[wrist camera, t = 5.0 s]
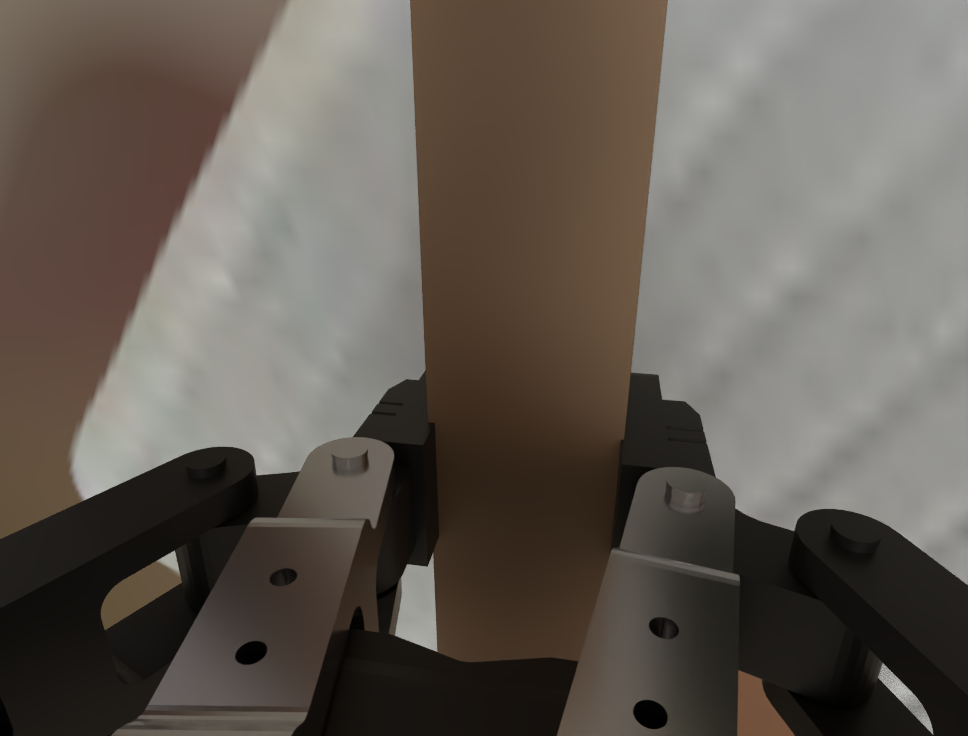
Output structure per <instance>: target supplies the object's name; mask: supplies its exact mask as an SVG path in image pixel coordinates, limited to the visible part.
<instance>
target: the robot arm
mask: <svg viewBox="0 0 968 736" xmlns="http://www.w3.org/2000/svg"><path fill="white" fill-rule="evenodd" d="M438 538H439V518H438V491H437V464H436V437H435V423H430V422H428V412H427V388H426V370H425V372H424V373H423V375H422V376H421V378H420V379H419V380H408V379H406V380H405V381H403V382H401V383H399V384H397V385H395V386H394V387H392V388H390V389H388V391H387V392H386V393H385V395H384V396H383V397H382V399H381V400H380V401H379V404H377V405H376V407H375V408H374V409H373V411H372V414H370V415H369V416H368V417H367V419H366V420H365V421H364V423H363V424H362V425H361V427H360V428H359V429H358V431H357V432H356V433H355V435H354V436H353V437H350V438H343V439H338V440H334V441H330V442H328V443H325V444H323V445H321V446H319V447H317V448H316V449H315V450H313V451H312V452H311V453H310V454H309V455H308V457H307V459H306V461H305V463H304V465H303V467H302V469H301V471H299V472H292V473H281V474H269V475H257V476H256V469H255V463H254V458H253V456H252V455H251V454H250V453H248V452H247V451H245V450H242V449H239V448H234V447H211V448H205V449H201V450H196V451H193V452H190V453H187V454H185V455H182V456H180V457H178V458H176V459H173V460H171V461H169V462H167V463H165V464H163V465H160V466H158V467H156V468H154V469H152V470H150V471H147V472H145V473H143V474H141V475H139V476H137V477H134V478H132V479H130V480H128V481H126V482H124V483H121V484H119V485H117V486H115V487H113V488H110V489H108V490H106V491H104V492H102V493H100V494H97V495H95V496H93V497H91V498H89V499H87V500H84V501H82V502H80V503H78V504H76V505H74V506H71V507H69V508H67V509H65V510H63V511H61V512H58V513H56V514H54V515H52V516H50V517H48V518H45V519H43V520H41V521H39V522H37V523H35V524H32V525H30V526H28V527H26V528H24V529H22V530H19V531H17V532H15V533H13V534H11V535H9V536H6V537H4V538H2V539H0V736H737V726H738V670H739V671H742V672H744V673H747V674H750V675H752V676H755V677H757V678H760V679H762V686H763V690H764V692H765V695H766V697H767V698H768V700H769V702H770V703H771V705H772V706H773V707H774V709H775V710H776V711H777V713H778V714H779V715H780V717H781V718H782V719H783V720H784V722H785V723H786V724H787V726H788V727H789V728H790V730H791V731H792V732H793V734H794V735H795V736H968V585H967V584H965V583H964V582H963V581H961V580H960V579H959V578H957V577H956V576H955V575H953V574H952V573H951V572H949V571H948V570H947V569H945V568H944V567H943V566H941V565H940V564H939V563H938V562H936V561H935V560H934V559H932V558H931V557H930V556H928V555H927V554H926V553H924V552H923V551H922V550H920V549H919V548H918V547H916V546H915V545H914V544H912V543H911V542H910V541H908V540H907V539H906V538H904V537H903V536H902V535H901V534H899V533H898V532H896V531H895V530H893V529H892V528H891V527H889V526H887V525H885V524H883V523H882V522H880V521H877V520H875V519H873V518H870V517H867V516H865V515H862V514H858V513H854V512H850V511H845V510H837V509H820V510H814V511H810V512H808V513H805V514H804V515H802V516H801V517H800V518H799V519H798V521H797V524H796V528H795V531H791V530H788V529H784V528H781V527H778V526H774V525H771V524H767V523H764V522H761V521H758V520H756V519H754V518H751V517H749V516H747V515H745V514H743V513H741V512H740V511H738V510H737V509H735V496H734V494H733V492H732V491H731V489H730V488H729V487H728V486H727V485H726V484H725V483H723V482H722V481H721V480H719V479H717V478H716V477H715V473H714V469H713V465H712V461H711V457H710V453H709V449H708V446H707V444H706V438H705V434H704V432H703V426H702V422H701V418H700V415H699V414H698V413H697V412H696V411H695V410H694V409H693V408H692V407H690V406H689V405H688V404H687V403H686V402H684V401H671V400H662V397H661V390H660V383H659V376H658V375H654V374H640V373H631V374H630V384H629V395H628V405H627V415H626V425H625V435H624V440H621V447H620V458H619V468H618V478H617V488H616V499H615V509H614V519H613V530H612V540H611V550H610V557H609V560H608V563H607V567H606V570H605V574H604V577H603V580H602V584H601V587H600V591H599V594H598V597H597V601H596V604H595V608H594V611H593V614H592V618H591V621H590V625H589V628H588V631H587V635H586V638H585V642H584V645H583V648H582V652H581V655H580V659H579V661H574V660H567V659H560V658H553V657H548V658H532V659H516V660H500V661H484V662H464V661H460V660H456V659H454V658H451V657H448V656H446V655H443V654H441V653H438V652H435V651H433V650H430V649H428V648H425V647H422V646H420V645H417V644H415V643H412V642H409V641H407V640H404V639H402V638H399V637H396V636H395V630H396V625H397V619H398V613H399V608H400V602H401V597H402V585H401V576H402V575H403V572H404V570H405V568H406V566H407V564H411V565H419V566H427V567H428V564H429V561H430V559H431V556H432V554H433V551H434V549H435V546H436V544H437V541H438ZM174 550H175V553H176V557H177V562H178V566H179V571H180V576H181V580H182V583H181V584H179V585H177V586H176V587H174V588H173V589H171V590H169V591H168V592H166V593H165V594H163V595H161V596H160V597H158V598H156V599H155V600H153V601H152V602H150V603H148V604H147V605H145V606H144V607H142V608H140V609H139V610H137V611H136V612H134V613H132V614H131V615H129V616H128V617H126V618H124V619H123V620H121V621H119V622H118V623H116V624H115V625H113V626H111V627H110V628H108V629H107V630H104V627H103V623H102V620H101V607H102V603H103V601H104V599H105V597H106V596H107V594H108V593H109V592H110V590H111V589H112V588H113V587H114V586H115V585H117V584H118V583H119V582H121V581H122V580H123V579H125V578H127V577H129V576H131V575H132V574H134V573H136V572H138V571H139V570H141V569H143V568H145V567H146V566H148V565H150V564H151V563H153V562H155V561H157V560H159V559H160V558H162V557H164V556H165V555H167V554H169V553H171V552H172V551H174ZM882 663H884V664H885V665H886V666H887V667H888V668H889V669H890V670H891V671H892V672H893V673H894V674H895V675H896V676H897V677H898V678H899V679H900V680H901V681H902V682H903V683H904V685H905V686H906V687H907V688H908V689H909V690H910V691H911V692H912V693H913V694H914V695H915V696H916V697H917V698H918V699H919V701H920V702H921V703H922V705H923V707H924V708H925V710H926V712H927V714H928V716H929V718H930V721H931V724H932V728H933V734H934V735H933V734H932V733H931V732H930V731H929V730H928V729H927V728H926V727H925V726H924V725H923V724H922V723H921V722H920V721H919V720H918V719H917V718H916V717H915V716H914V715H913V714H912V713H911V712H910V711H909V710H908V708H907V707H906V706H905V705H904V704H903V703H902V702H901V701H900V700H899V699H898V698H897V697H896V696H895V695H894V694H893V693H892V692H891V691H890V690H889V689H888V688H887V687H886V686H885V685H884V684H883V683H882V682H881V680H880V679H879V678H878V676H879V673H880V669H881V666H882ZM140 715H141V716H140ZM139 716H140V717H139Z"/></svg>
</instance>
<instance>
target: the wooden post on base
mask: <svg viewBox="0 0 968 736" xmlns="http://www.w3.org/2000/svg"><path fill="white" fill-rule="evenodd" d="M667 2H668V0H410V7H411V30H412V54H413V78H414V102H415V126H416V150H417V173H418V197H419V221H420V245H421V269H422V293H423V316H424V340H425V364H426V388H427V412H428V422H430V423H435V437H436V464H437V491H438V518H439V538H438V541H437V544H436V546H435V549H434V551H433V555H434V579H435V602H436V626H437V650H438V653H441V654H443V655H446V656H448V657H451V658H454V659H456V660H460V661H464V662H484V661H500V660H516V659H532V658H548V657H553V658H560V659H567V660H574V661H579V659H580V655H581V652H582V648H583V645H584V642H585V638H586V635H587V631H588V628H589V625H590V621H591V618H592V614H593V611H594V608H595V604H596V601H597V597H598V594H599V591H600V587H601V584H602V580H603V577H604V574H605V570H606V567H607V563H608V560H609V557H610V550H611V540H612V530H613V519H614V509H615V499H616V488H617V478H618V468H619V458H620V447H621V440H624V435H625V425H626V415H627V405H628V395H629V384H630V374H631V364H632V354H633V344H634V334H635V324H636V314H637V304H638V294H639V284H640V274H641V264H642V254H643V244H644V234H645V223H646V213H647V203H648V193H649V183H650V173H651V163H652V153H653V143H654V133H655V123H656V113H657V103H658V93H659V83H660V72H661V62H662V52H663V42H664V32H665V22H666V12H667Z"/></svg>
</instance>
